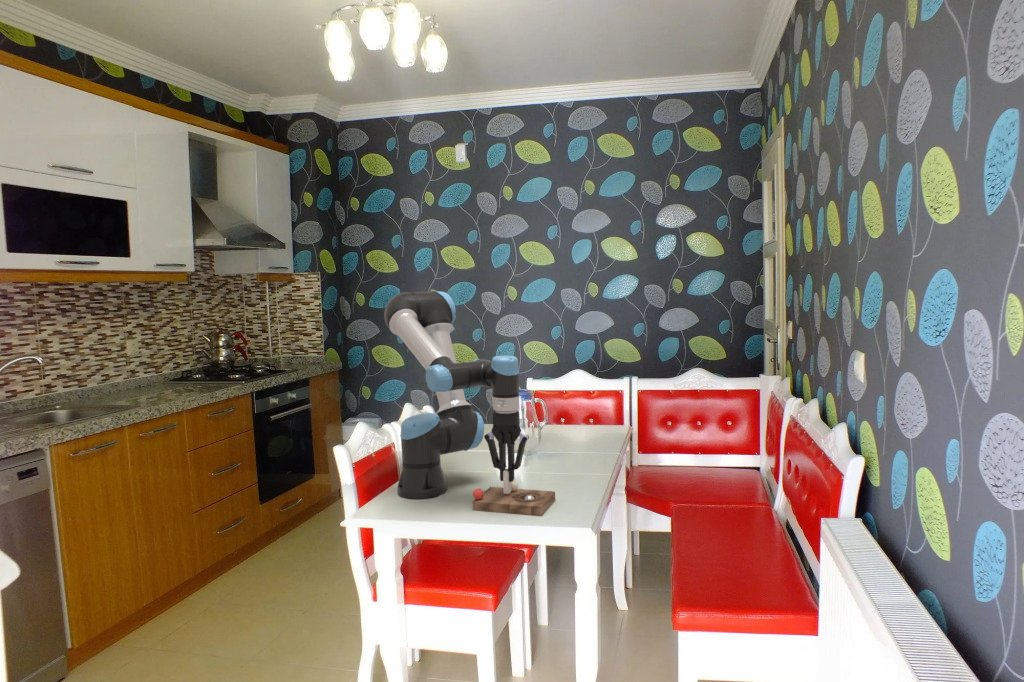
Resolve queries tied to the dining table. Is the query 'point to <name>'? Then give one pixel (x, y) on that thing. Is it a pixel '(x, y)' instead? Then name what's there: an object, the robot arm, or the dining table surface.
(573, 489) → the dining table surface
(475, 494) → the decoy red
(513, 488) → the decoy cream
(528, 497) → the steel ball
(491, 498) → the board
